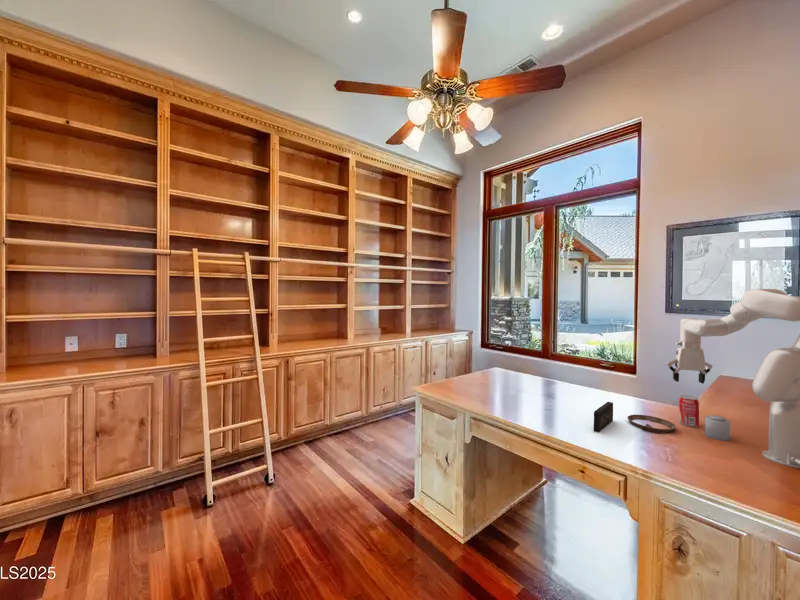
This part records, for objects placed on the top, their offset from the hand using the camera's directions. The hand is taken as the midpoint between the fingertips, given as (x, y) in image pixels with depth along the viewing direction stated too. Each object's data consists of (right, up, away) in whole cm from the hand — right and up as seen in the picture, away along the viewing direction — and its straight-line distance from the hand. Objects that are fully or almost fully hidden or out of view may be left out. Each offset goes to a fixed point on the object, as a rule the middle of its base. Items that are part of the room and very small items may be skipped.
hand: (688, 381), depth 160 cm
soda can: (0, -20, 0) cm, 20 cm away
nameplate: (-42, -20, -4) cm, 47 cm away
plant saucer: (-20, -21, -3) cm, 28 cm away
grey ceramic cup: (0, -20, -15) cm, 25 cm away
